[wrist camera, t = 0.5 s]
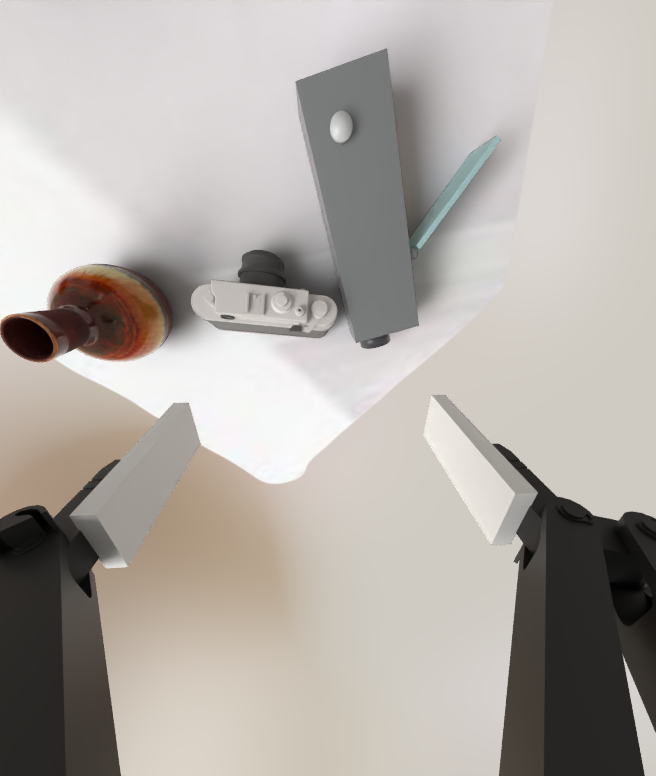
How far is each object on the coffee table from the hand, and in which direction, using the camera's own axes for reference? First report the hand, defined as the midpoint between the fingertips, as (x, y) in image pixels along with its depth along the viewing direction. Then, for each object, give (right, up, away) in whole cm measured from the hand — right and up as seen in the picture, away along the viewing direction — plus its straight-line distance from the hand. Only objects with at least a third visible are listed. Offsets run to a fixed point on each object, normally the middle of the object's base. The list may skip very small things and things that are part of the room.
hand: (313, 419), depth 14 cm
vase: (-25, +13, +21) cm, 35 cm away
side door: (+14, +23, +17) cm, 32 cm away
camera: (-7, +15, +21) cm, 27 cm away
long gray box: (+5, +21, +18) cm, 29 cm away
